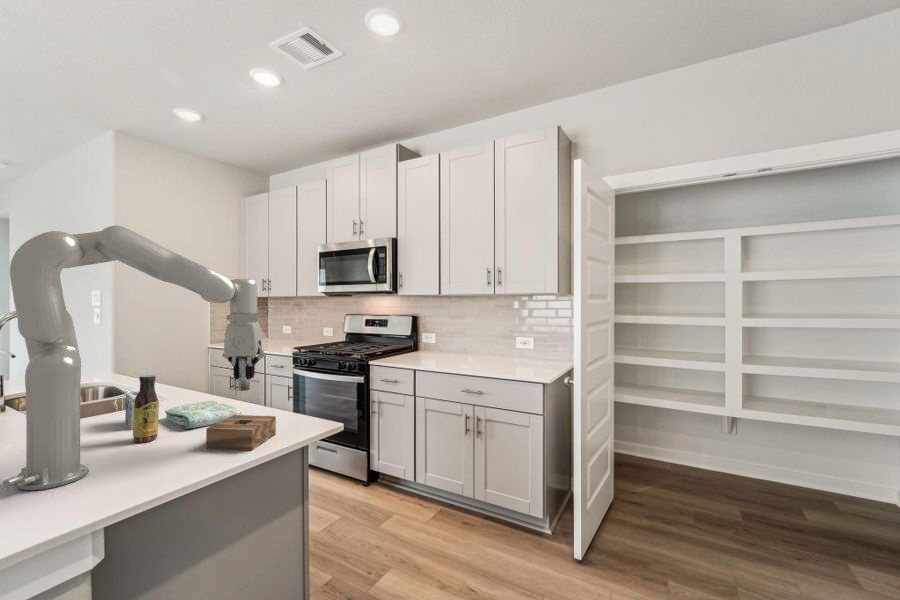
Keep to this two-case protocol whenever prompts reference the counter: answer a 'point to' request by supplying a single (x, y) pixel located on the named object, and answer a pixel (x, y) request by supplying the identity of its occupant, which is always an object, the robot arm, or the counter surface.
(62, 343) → the robot arm
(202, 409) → the towel
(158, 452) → the counter surface
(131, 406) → the light bulb box
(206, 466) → the counter surface
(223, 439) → the socket block
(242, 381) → the pin
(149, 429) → the sauce bottle
